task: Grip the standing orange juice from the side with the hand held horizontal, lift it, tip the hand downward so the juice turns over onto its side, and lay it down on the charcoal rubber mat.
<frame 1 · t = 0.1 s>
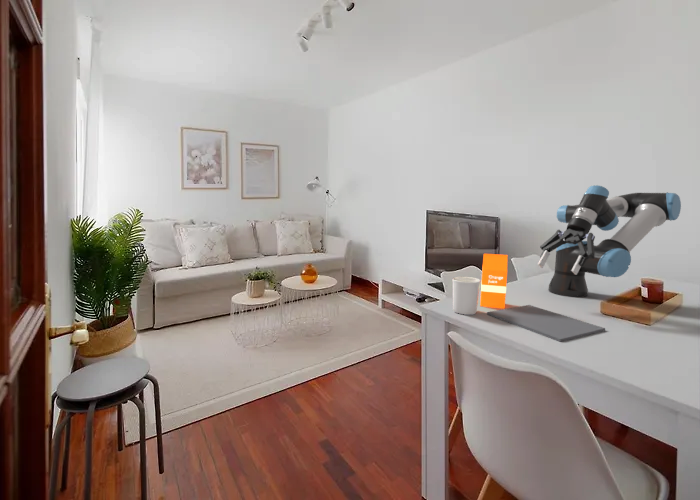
hand: (556, 269, 141), 15 cm above the table, tool tilted 35°, fingers open, 13 cm apart
orange juice: (491, 305, 148), on the table
white cup: (464, 311, 139), on the table
mat: (542, 321, 128), on the table
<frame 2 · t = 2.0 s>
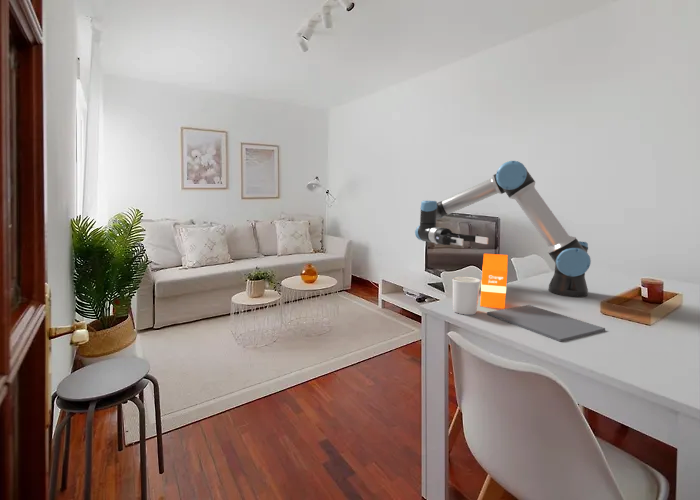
hand: (475, 241, 154), 24 cm above the table, tool horizontal, fingers open, 13 cm apart
nothing on the table moved.
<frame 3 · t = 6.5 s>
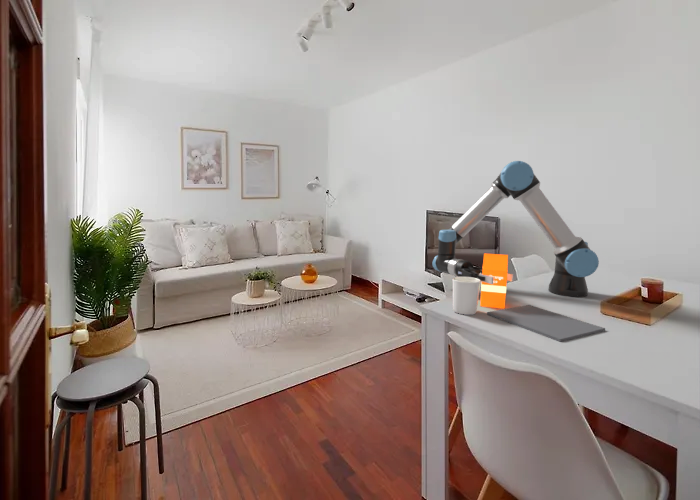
hand: (502, 279, 142), 11 cm above the table, tool horizontal, fingers closed on orange juice, 10 cm apart
orange juice: (491, 305, 148), on the table, touching gripper
everything else where it was.
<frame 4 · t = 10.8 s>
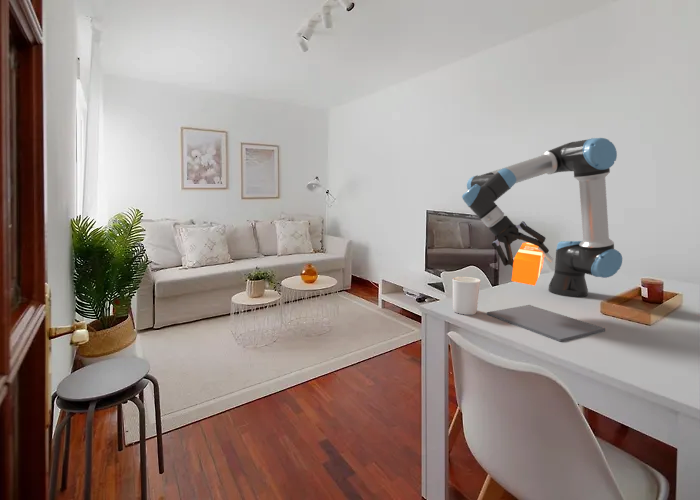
hand: (538, 268, 136), 17 cm above the table, tool tilted 45°, fingers closed on orange juice, 10 cm apart
orange juice: (524, 272, 128), point 17 cm above the table, touching gripper
everything else where it was.
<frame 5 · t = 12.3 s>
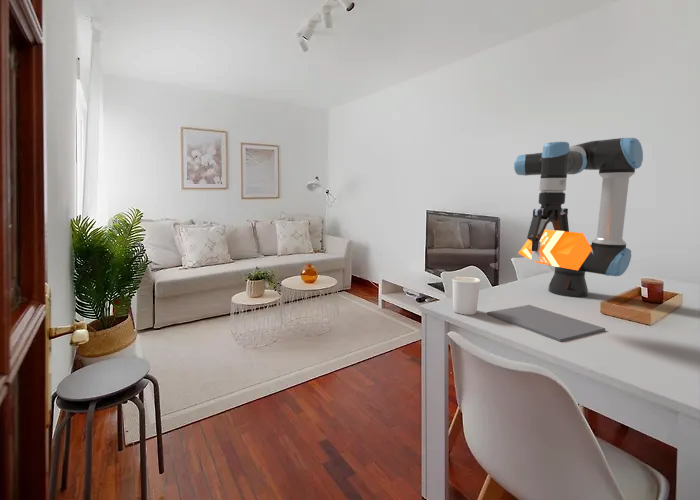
hand: (546, 259, 125), 21 cm above the table, tool pointing down, fingers closed on orange juice, 10 cm apart
orange juice: (580, 251, 115), point 26 cm above the table, touching gripper
everything else where it was.
when the fingers open (3 cm above the table, at t = 15.5 s): orange juice moves 1 cm, resting on mat.
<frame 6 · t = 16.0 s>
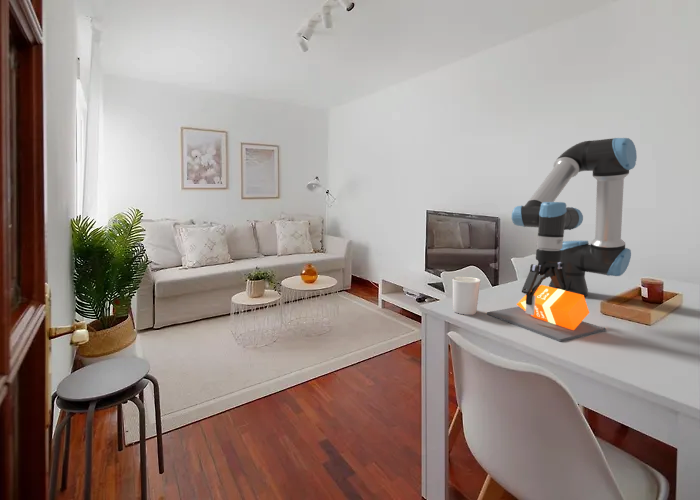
hand: (543, 311, 128), 4 cm above the table, tool pointing down, fingers open, 13 cm apart
orange juice: (579, 312, 118), point 6 cm above the table, touching gripper, mat
everything else where it was.
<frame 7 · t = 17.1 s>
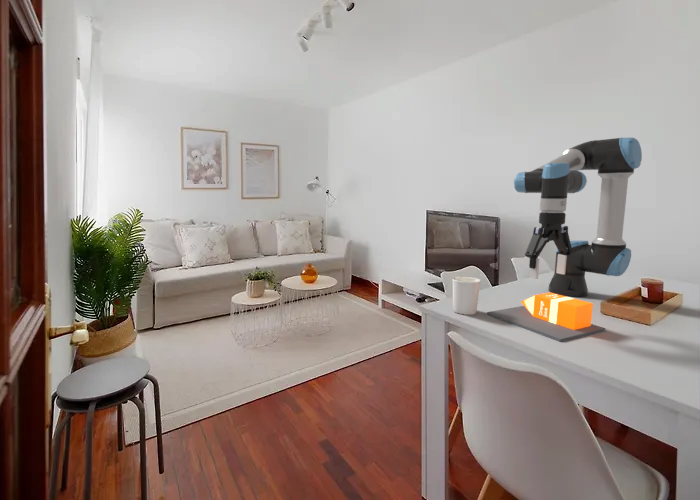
hand: (547, 275, 126), 16 cm above the table, tool pointing down, fingers open, 13 cm apart
orange juice: (584, 316, 120), point 5 cm above the table, touching mat
everything else where it was.
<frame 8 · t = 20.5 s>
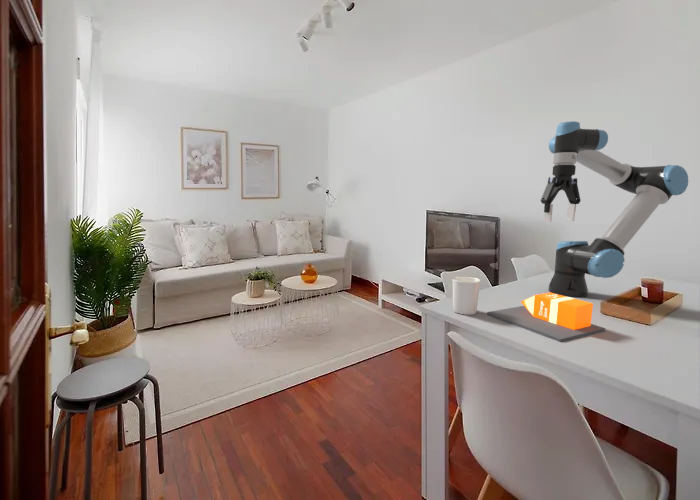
hand: (559, 221, 146), 33 cm above the table, tool pointing down, fingers open, 13 cm apart
nothing on the table moved.
at the end: orange juice tilted 90°; orange juice inside the target area on the mat (11.9 cm from its centre), point 4.7 cm above the mat's base; the gripper is holding nothing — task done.
